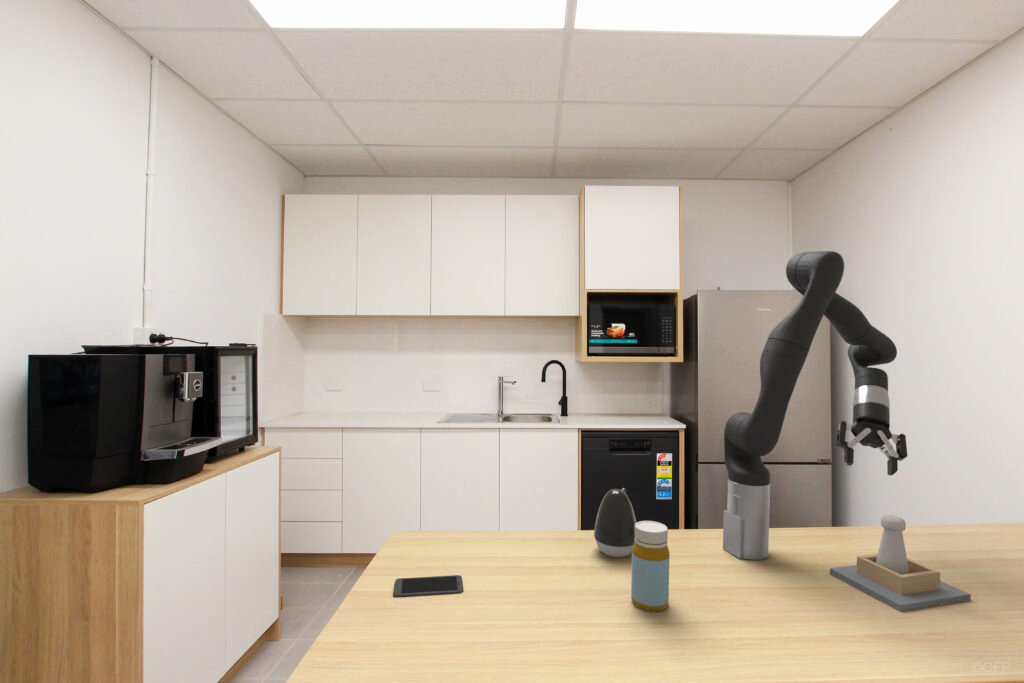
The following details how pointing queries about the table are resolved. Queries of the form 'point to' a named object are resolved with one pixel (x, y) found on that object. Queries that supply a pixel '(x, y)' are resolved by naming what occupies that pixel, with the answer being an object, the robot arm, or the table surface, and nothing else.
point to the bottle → (650, 566)
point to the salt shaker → (893, 545)
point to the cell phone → (428, 586)
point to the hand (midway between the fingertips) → (870, 469)
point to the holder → (900, 584)
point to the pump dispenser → (615, 524)
